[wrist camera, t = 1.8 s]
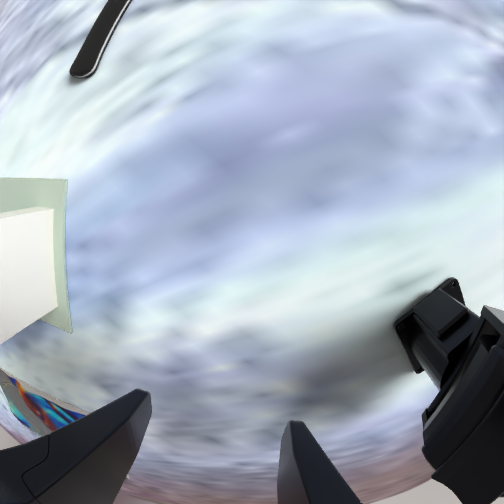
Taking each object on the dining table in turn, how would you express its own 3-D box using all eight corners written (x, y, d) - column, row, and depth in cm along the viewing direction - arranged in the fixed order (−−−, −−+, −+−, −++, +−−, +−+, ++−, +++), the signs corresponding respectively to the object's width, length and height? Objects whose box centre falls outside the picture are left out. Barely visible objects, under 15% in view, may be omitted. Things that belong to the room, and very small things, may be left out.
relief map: (24, 421, 30) (19, 427, 28) (-8, 359, 26) (-15, 364, 24) (131, 473, 28) (126, 482, 26) (99, 412, 25) (92, 422, 23)
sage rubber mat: (67, 179, 18) (65, 179, 18) (72, 332, 21) (70, 333, 21) (-26, 178, 19) (-28, 178, 18) (-21, 283, 22) (-23, 284, 22)
